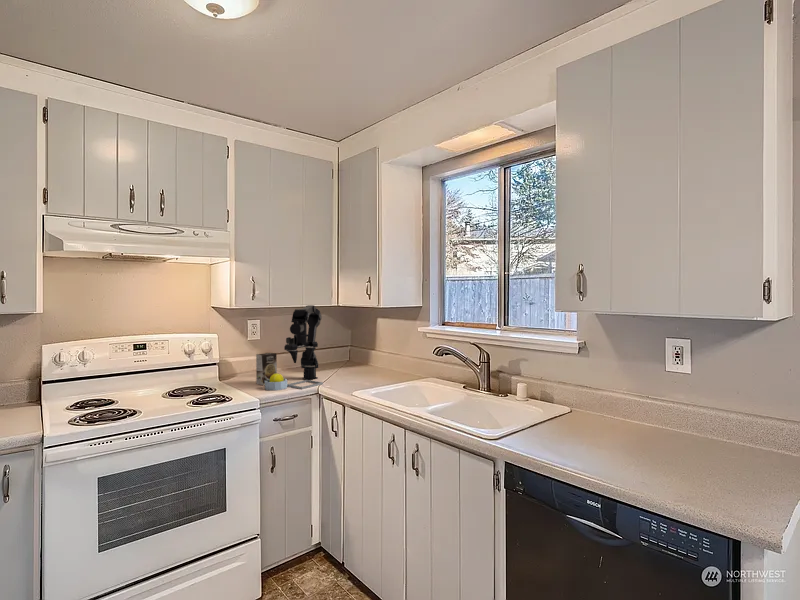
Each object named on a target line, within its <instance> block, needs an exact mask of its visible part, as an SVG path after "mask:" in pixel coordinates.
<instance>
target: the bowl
mask: <svg viewBox="0 0 800 600" xmlns="http://www.w3.org/2000/svg"><path fill="white" fill-rule="evenodd" d="M287 384H288V379H287V378H284V381H281V382H270V379H267V380H265V385H264V389H265V391H281V390H282V389H283V390H286V389H287V388H288V387H287Z"/></svg>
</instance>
